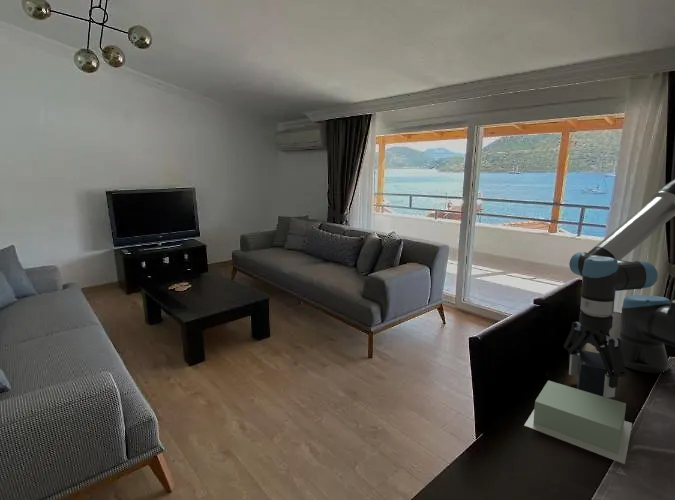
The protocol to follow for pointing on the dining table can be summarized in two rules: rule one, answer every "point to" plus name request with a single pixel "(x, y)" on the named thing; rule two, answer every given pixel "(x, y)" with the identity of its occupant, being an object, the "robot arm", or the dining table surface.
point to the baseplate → (617, 457)
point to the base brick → (581, 415)
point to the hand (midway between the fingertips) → (590, 385)
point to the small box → (591, 373)
